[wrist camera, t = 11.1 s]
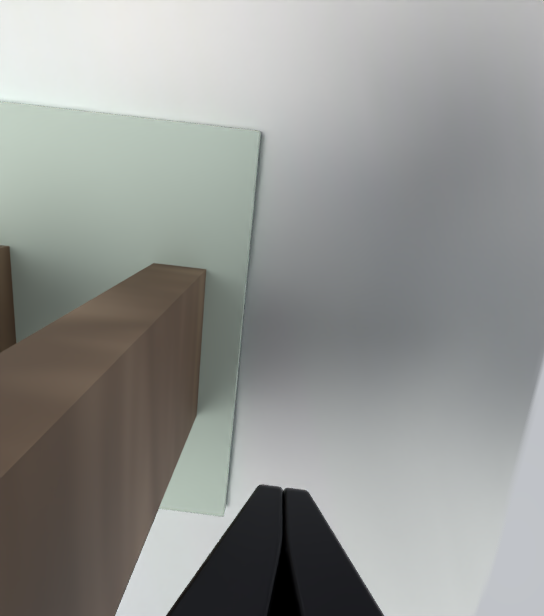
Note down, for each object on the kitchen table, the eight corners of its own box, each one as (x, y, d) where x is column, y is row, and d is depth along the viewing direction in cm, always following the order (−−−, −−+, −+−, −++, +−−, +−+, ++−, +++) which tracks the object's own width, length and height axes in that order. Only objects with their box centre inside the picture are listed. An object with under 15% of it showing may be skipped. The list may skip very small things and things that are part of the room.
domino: (206, 268, 13) (-58, 537, 3) (196, 415, 14) (-4, 906, 5) (153, 263, 13) (-272, 512, 3) (149, 409, 14) (-151, 886, 5)
